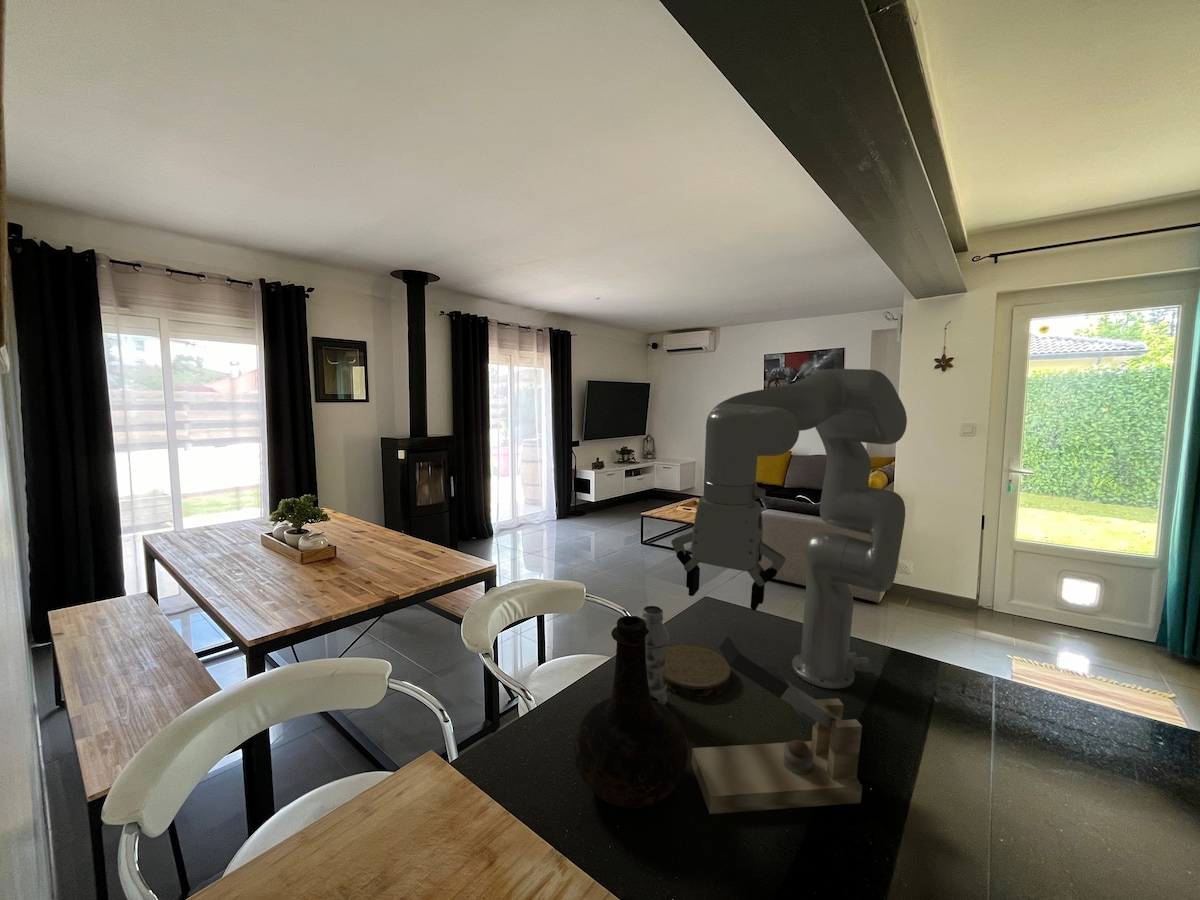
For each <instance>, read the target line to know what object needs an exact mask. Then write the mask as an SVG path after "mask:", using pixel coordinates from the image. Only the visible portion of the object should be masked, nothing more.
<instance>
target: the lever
mask: <svg viewBox="0 0 1200 900" xmlns="http://www.w3.org/2000/svg"><path fill="white" fill-rule="evenodd" d="M718 649H719V651H720V652H721V655H722V656H723V657H724V658H725V659H726V661H727V663H728V664H729V666H730V668H732V669H734V670H736V671H737V672H739V673H740V674H742V675H743V676H745V677H746V678H748V679H749V680H751V681H752V682H754V683H755V684H757V685H759V686H760V687H761V688H763V689H764V690H766V691H768V692H769V693H771V694H772V695H774V696H776V697H777V698H779V699H781V700H784V701H785V702H786V703H788V704H789V705H790V706H792V708H793V709H794V711H795V712H796V713H797V715H798V716H799V717H800V718H802V719H804V721H807V722H808V723H809V724H811V725H812V726H813V725H815V723H816V722H819V723H820V724H822V725H823V726H825V727H826V728H828V729H829V730H831V725H832V721H834V720H841V719H840V718H839V716H838V715H837V714H836V713H835V712H834V711H832V710H831V709H829V708H827V707H826V706H824V705H823V704H821V703H820V702H818V701H817V700H818V699H815V698H814V697H812V696H810V695H809V694H808V693H806V692H804V691H803V690H802V689H800V688H799V687H797V686H795V684H792V683H791V682H789V681H788V680H786V678H784V677H783V675H782V674H781V672H780V671H779V669H777V667H776V666H775V665H773V664H771V663H770V662H768V661H767V660H765V659H764V658H762V657H761V656H759V655H758V654H757V653H755V652H753V651H752V650H750V649H748V648H747V647H745V646H744V645H742V644H741V643H739V642H738V641H736V640H735V639H733V638H732V637H730V636H729V635H727V637H726V638H725V639H724V640H723V641H722V643H721V644H720V646H719V647H718Z"/></svg>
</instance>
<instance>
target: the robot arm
mask: <svg viewBox="0 0 1200 900" xmlns="http://www.w3.org/2000/svg"><path fill="white" fill-rule="evenodd" d="M907 421H908V417H907V411H906V408H905V406H904V404H903V402H902V400H901V398H900V396H899V394H898V392H897V390H896V388H895V386H894V385H893V383H892V382H891V380H890V379H889V378H888V376H887V375H885V374H884V373H883V372H881V371H879V370H876V369H869V368H867V369H863V368H862V369H861V368H856V369H855V368H827V369H822V370H820V371H816V372H815V373H813V374H810V375H808V376H807V377H804V378H802V379H800V380H798V381H795V382H793V383H789V384H784V385H779V386H774V387H770V388H764V389H759V390H754V391H748V392H743V393H740V394H737V395H734V396H731V397H730V398H727V399H724V400H723V401H721V402H719V403H718V404H716V405H715V406H714V407H713V408H712V410H711V411H710V413H709V414H708V416H707V418H706V425H705V444H704V445H705V447H704V449H705V450H704V473H703V474H704V475H703V476H704V477H703V478H704V479H703V495H702V496H701V497H700V498H699V499H698V503H697V507H696V511H695V517H694V521H693V522H694V523H693V527H692V531H691V532H688V533H685V534H682V535H679V536H676V537H674V538H673V539H672V540H671V545H672V548H673V549H674V552H675V553H676V558H677V559H678V561H680V563H681V564H682V565H683V569H684V571H686V580H685V581H686V586H685V587H686V588H688V596H689V597H694V596H695V595H696V593H698V591H699V589H700V576H701V575H700V574H701V568H700V566H699V563H701V564H707V565H711V566H716V567H720V568H725V569H731V570H737V571H741V572H742V571H744V572H748V574H749V575H750V577H751V578H752V580H753V581H754V582H753V583H752V585H751V595H750V596H751V597H750V610H752V611H755V612H756V611H757V608H758V606H759V605H762V604H763V603H764V600H765V599H764V598H765V585H766V584H767V582H769V581H770V580H772V579H773V578H775V577H776V576H777V574H778V573H779V571H780V570H781V569H782V567H783V566H784V564H785V563H786V561H787V558H786V556H784V555H782V554H781V553H780V552H778V551H777V550H775V549H774V548H773V547H771V546H769V545H768V544H766V543H764V532H763V530H764V526H763V514H762V506H761V503H760V502H759V501H756V500H757V499H765V498H766V489H765V488H761V487H759V485H758V483H757V470H758V469H757V468H758V467H757V466H758V457H765V456H766V457H777V456H781V455H784V454H786V453H788V452H790V451H791V450H792V449H793V448H794V446H795V445H796V443H797V441H798V440H799V437H800V431H807V430H811V429H813V428H815V430H816V432H817V433H818V436H819V437H820V440H821V442H822V444H823V445H822V446H823V447H824V450H825V454H826V455H825V457H826V462H825V463H826V465H825V473H824V478H823V484H822V490H821V496H820V502H819V503H820V504H819V516H820V518H821V520H822V521H823V522H825V524H828V525H830V526H833V527H837V528H841V529H844V530H845V529H846V530H849V531H852V532H853V531H854V532H857V533H861V534H866V535H868V536H870V537H871V541H869V540H867V539H861V538H858V537H854V536H850V535H845V534H841V533H837V532H833V531H817V532H815V533H813V534H811V535H810V536H808V538H807V540H806V542H805V544H804V551H803V554H804V555H803V559H804V565H805V577H806V579H805V583H806V584H805V586H806V587H805V597H804V609H803V622H802V632H801V633H802V634H801V646H800V648H801V649H800V653H799V654H797V655H795V656H794V657H793V659H792V662H791V663H792V665H791V666H792V667H791V668H792V670H793V671H794V673H795V674H796V676H798V677H800V678H801V679H802V680H803V681H805V682H807V683H809V684H811V685H814V686H816V687H819V688H826V689H831V690H832V689H833V690H834V689H835V690H837V689H845V688H848V687H850V686H852V684H854V681H855V677H856V675H855V672H854V670H853V669H856V668H857V667H859V668H861V667H869V666H870V660H869V658H868V657H867V656H859V657H858V655H857V653H856V652H850V644H851V635H852V634H851V633H852V622H853V613H854V604H855V603H854V598H853V597H854V596H853V593H852V590H851V588H850V587H849V585H850V586H855V587H858V588H861V589H864V590H869V591H871V592H874V593H875V592H877V593H883V592H887V591H888V590H889V589H891V587H892V585H893V583H894V581H895V579H896V575H897V570H898V563H899V559H900V552H901V546H902V540H903V535H904V530H905V529H904V528H905V521H906V506H905V501H904V499H903V497H902V496H901V495H900V494H898V493H897V492H895V491H893V490H888V489H884V488H878V487H873V486H870V484H869V483H870V476H871V471H872V460H871V456H870V455H869V453H868V451H867V449H866V448H865V445H863V444H862V443H866V444H874V445H875V444H877V445H882V446H883V445H892V444H896V443H897V442H898V441H900V440H901V439H902V438H903V436H904V434H905V432H906V429H907V424H908V423H907ZM688 543H691V555H690V554H689V552H688V551H687V549H685V545H686V544H688ZM763 557H765V558H767V559H768V560H770V561H771V562H772V564H771V565H770V566H769V567H768V568H766V569H764V567H763V566H762V565H761V563H760V562H762V559H763Z"/></svg>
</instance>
